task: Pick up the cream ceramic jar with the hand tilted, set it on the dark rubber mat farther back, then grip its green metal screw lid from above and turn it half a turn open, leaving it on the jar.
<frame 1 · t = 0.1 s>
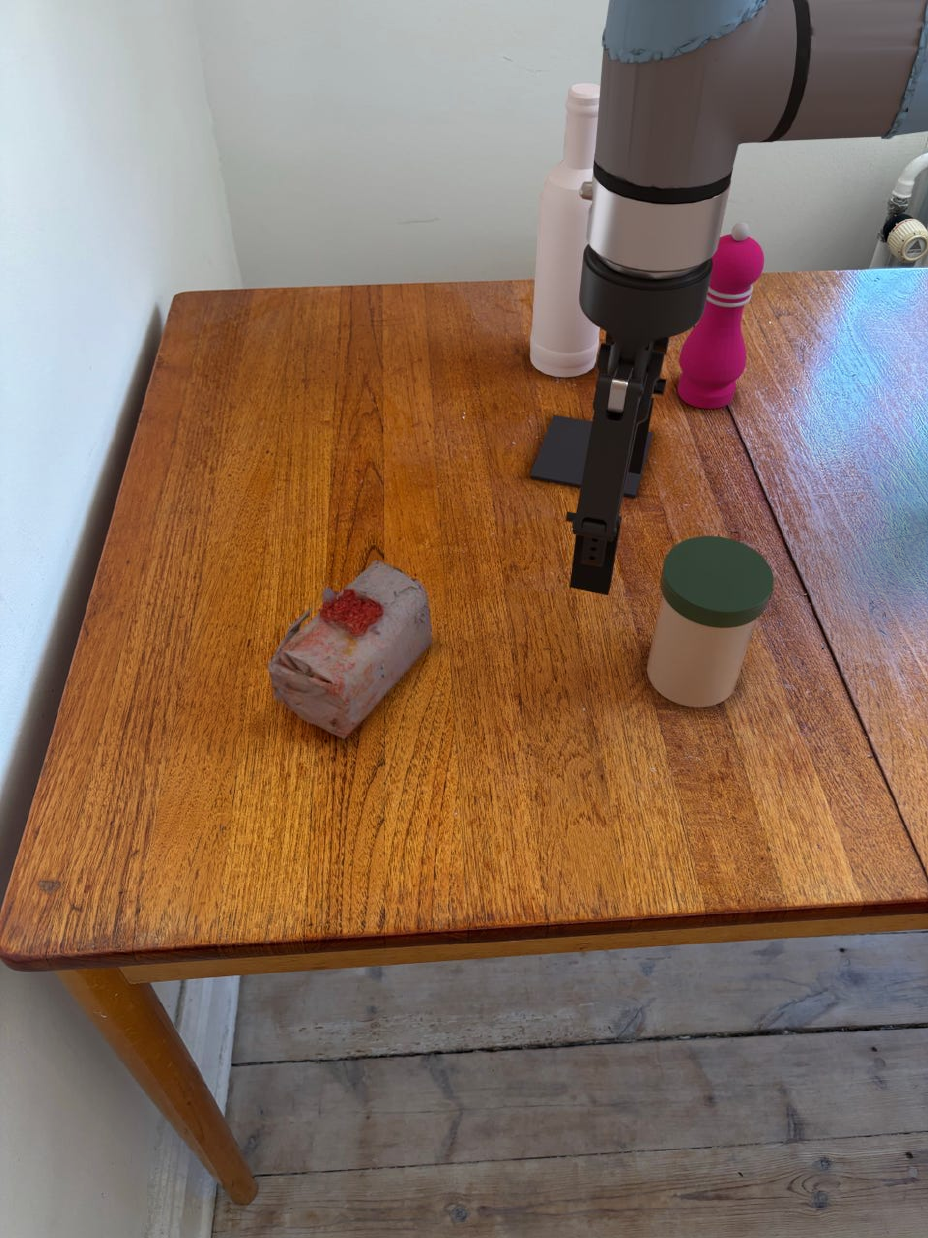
hand: (607, 524, 74), 17 cm above the table, tool pointing down, fingers open, 13 cm apart
mat: (592, 456, 107), on the table
bottle: (562, 361, 119), on the table
jar lid: (717, 576, 78), point 12 cm above the table, screwed on, not yet turned
pepper mill: (704, 395, 115), on the table
food item: (358, 682, 86), on the table
jar: (691, 672, 86), on the table
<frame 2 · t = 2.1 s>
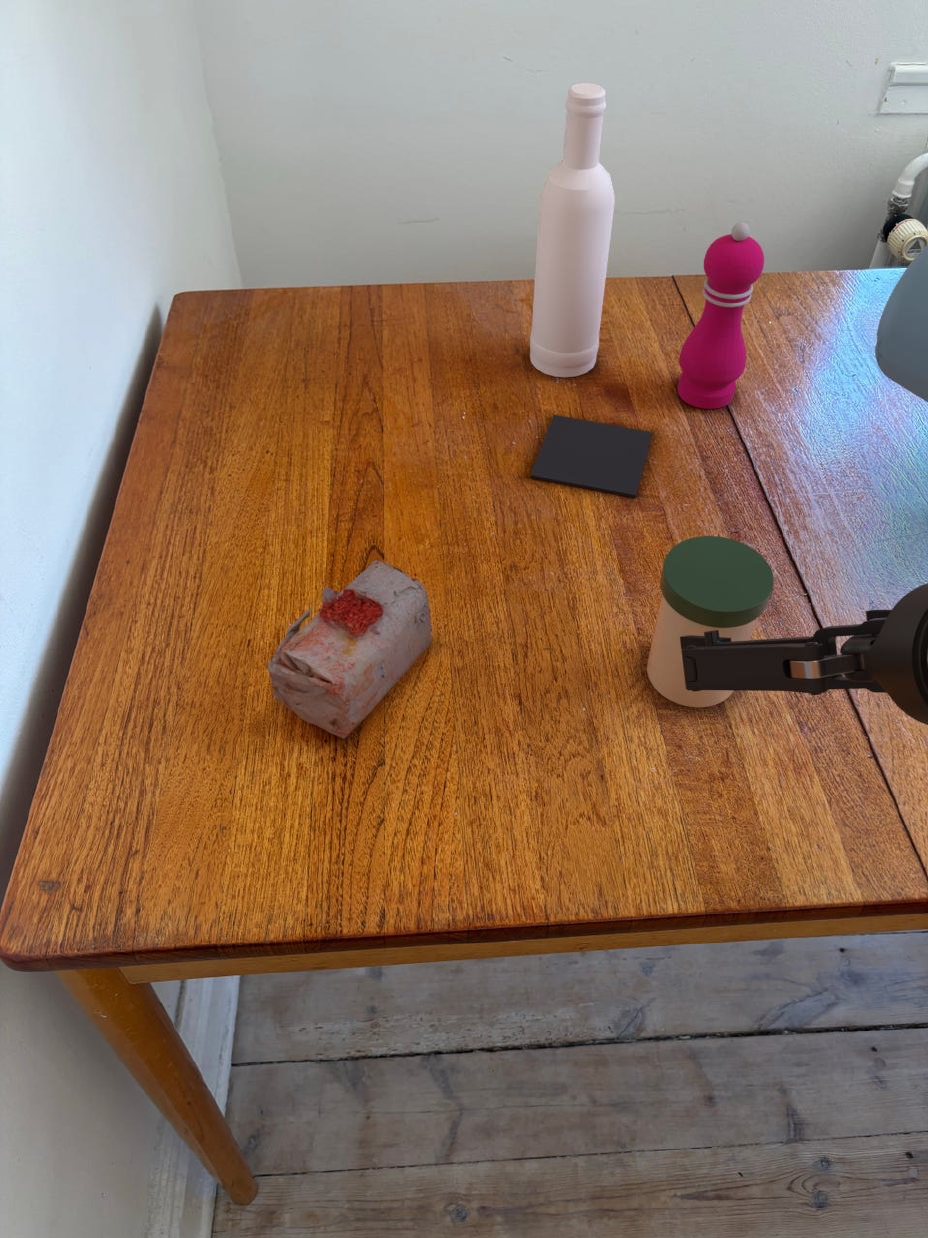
hand: (781, 642, 69), 15 cm above the table, tool tilted 45°, fingers open, 13 cm apart
nothing on the table moved.
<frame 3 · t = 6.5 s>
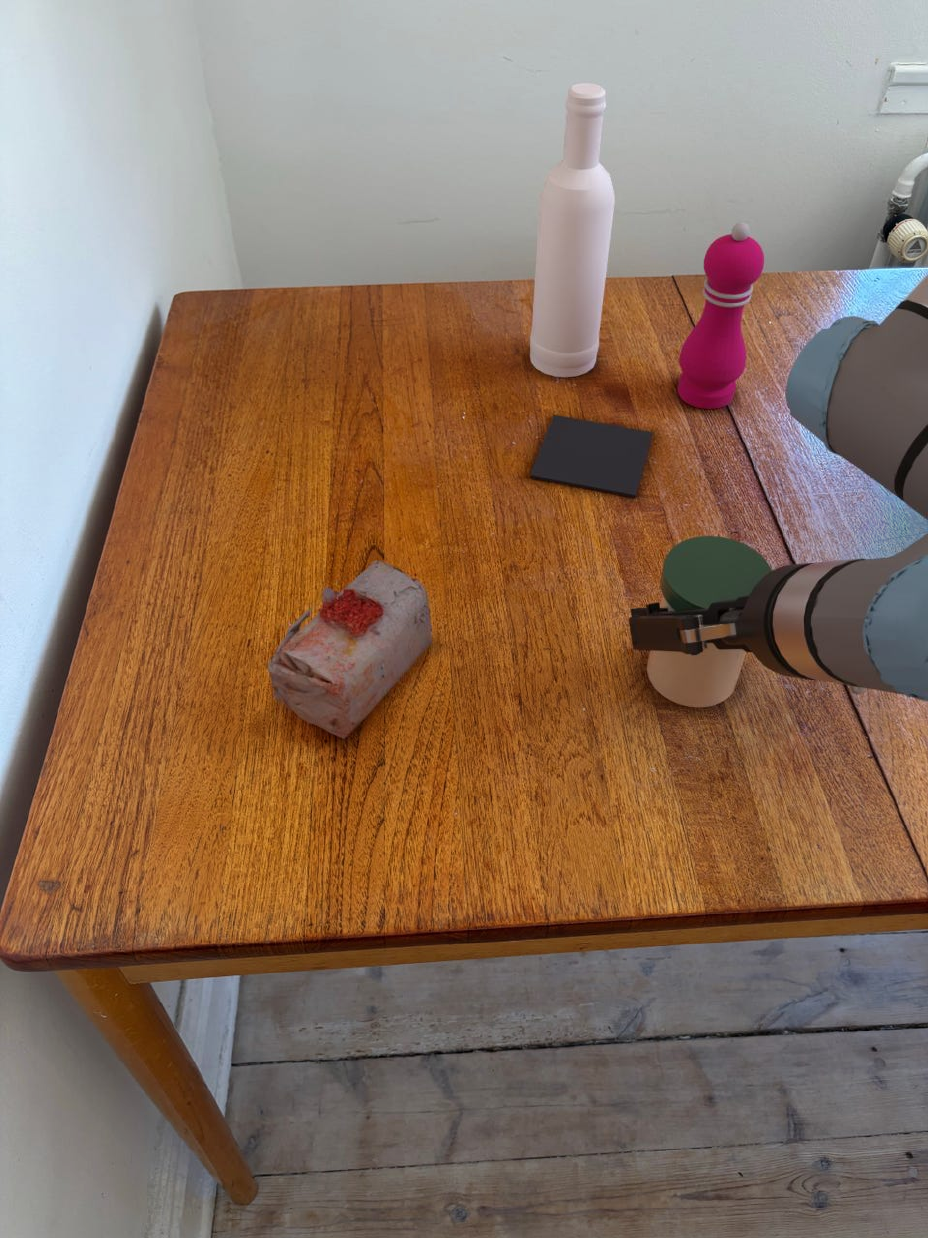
hand: (683, 615, 86), 4 cm above the table, tool tilted 45°, fingers closed on jar, 8 cm apart
jar: (691, 672, 86), on the table, touching gripper
everything else where it was.
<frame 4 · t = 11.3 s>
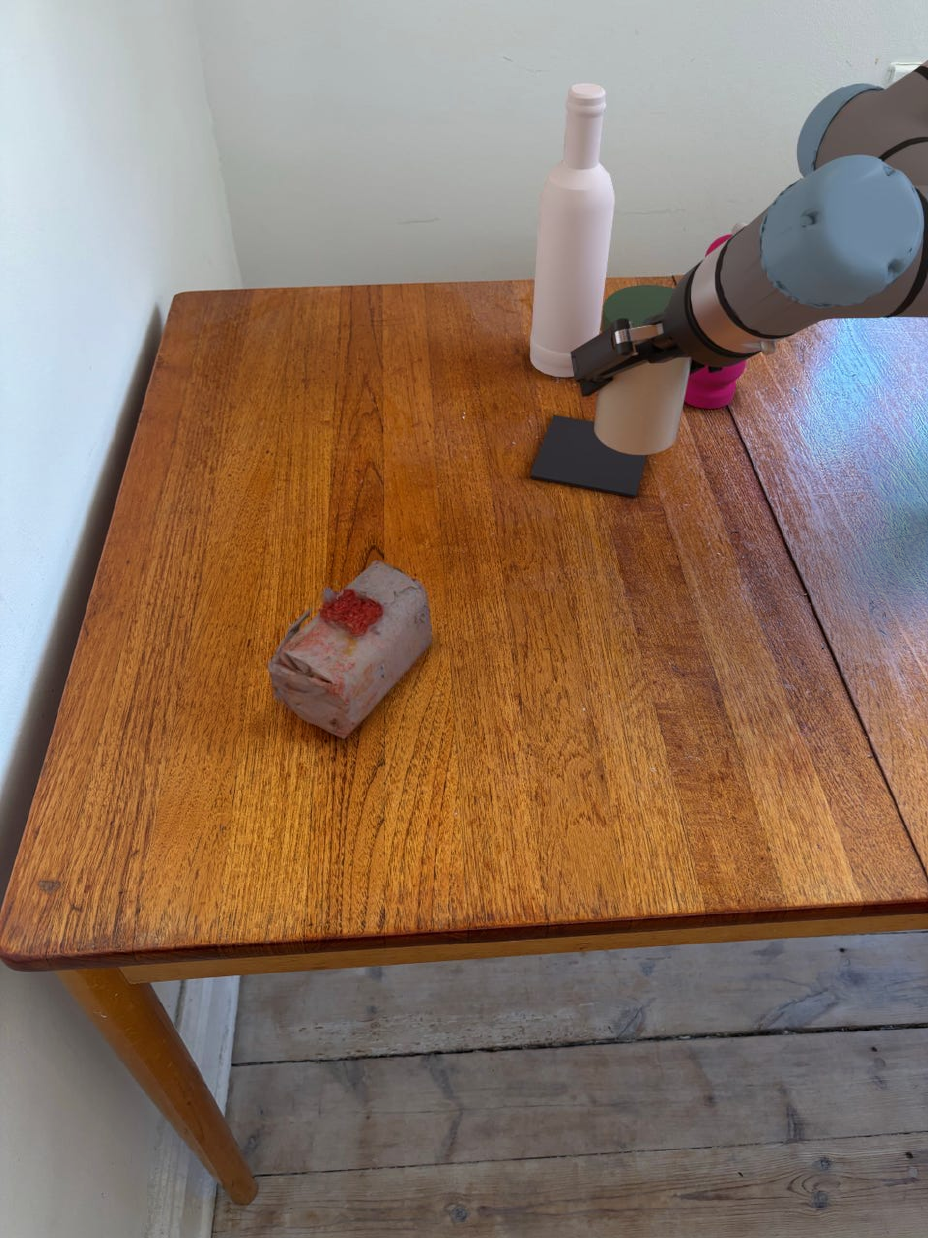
hand: (627, 375, 91), 14 cm above the table, tool tilted 45°, fingers closed on jar, 8 cm apart
jar lid: (653, 314, 83), point 22 cm above the table, screwed on, not yet turned
jar: (635, 429, 92), point 11 cm above the table, touching gripper
everything else where it was.
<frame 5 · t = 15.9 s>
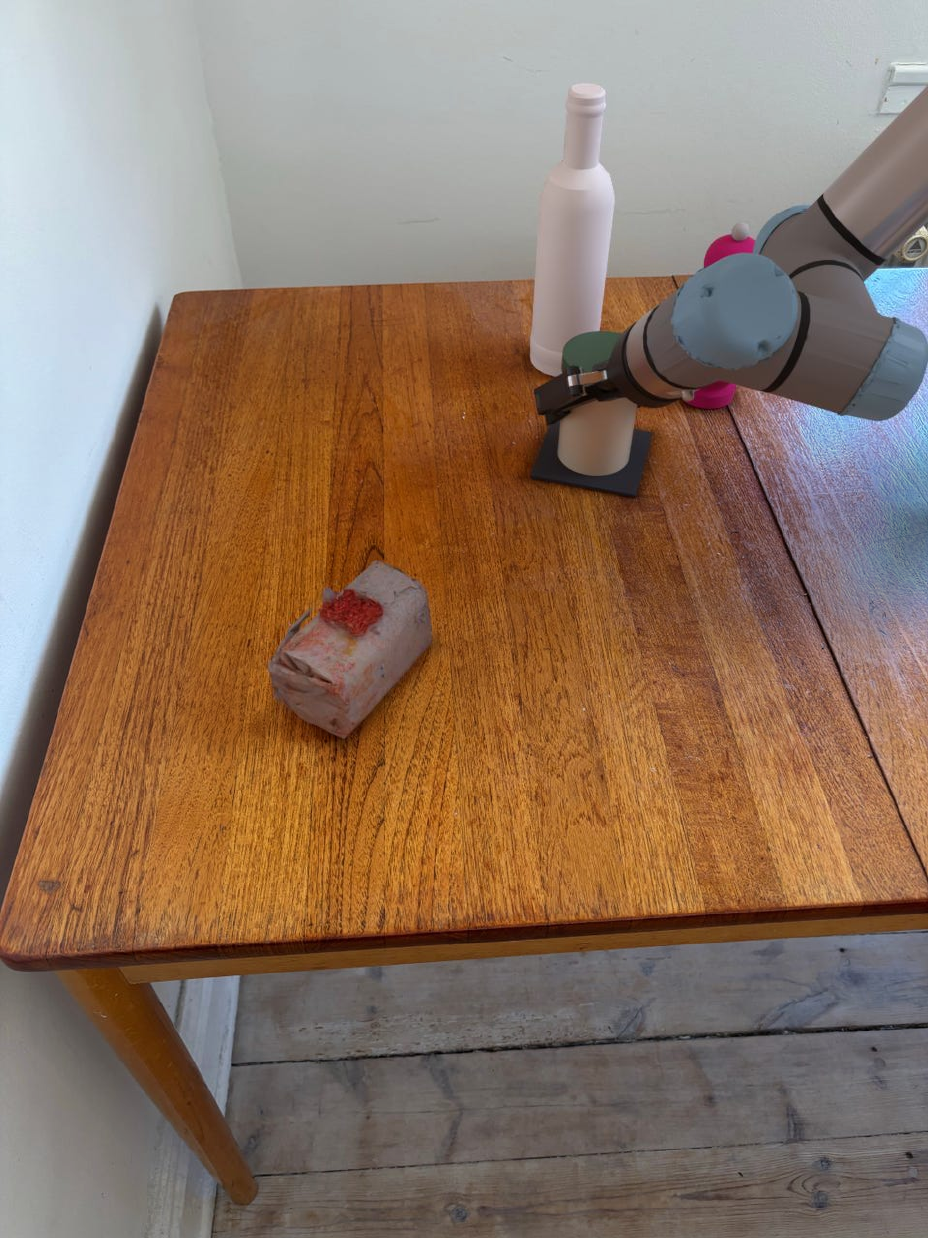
hand: (586, 406, 106), 4 cm above the table, tool tilted 45°, fingers closed on jar, 8 cm apart
jar lid: (605, 357, 98), point 12 cm above the table, screwed on, not yet turned
jar: (593, 453, 106), resting on mat, touching gripper
everything else where it was.
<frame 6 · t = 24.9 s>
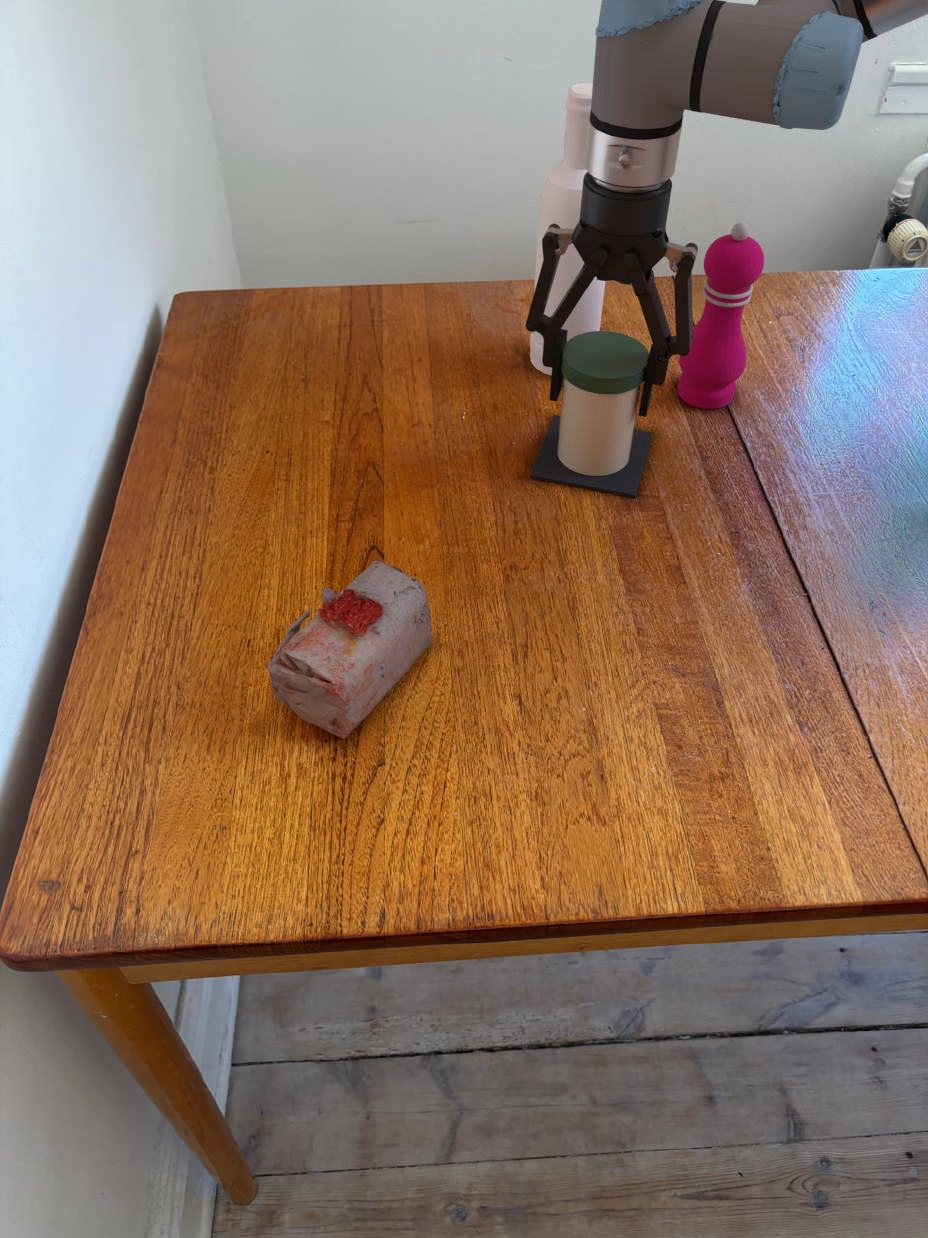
hand: (599, 400, 102), 7 cm above the table, tool pointing down, fingers closed on jar lid, 8 cm apart
jar lid: (605, 357, 98), point 12 cm above the table, screwed on, not yet turned, touching gripper
jar: (593, 453, 106), resting on mat
everything else where it was.
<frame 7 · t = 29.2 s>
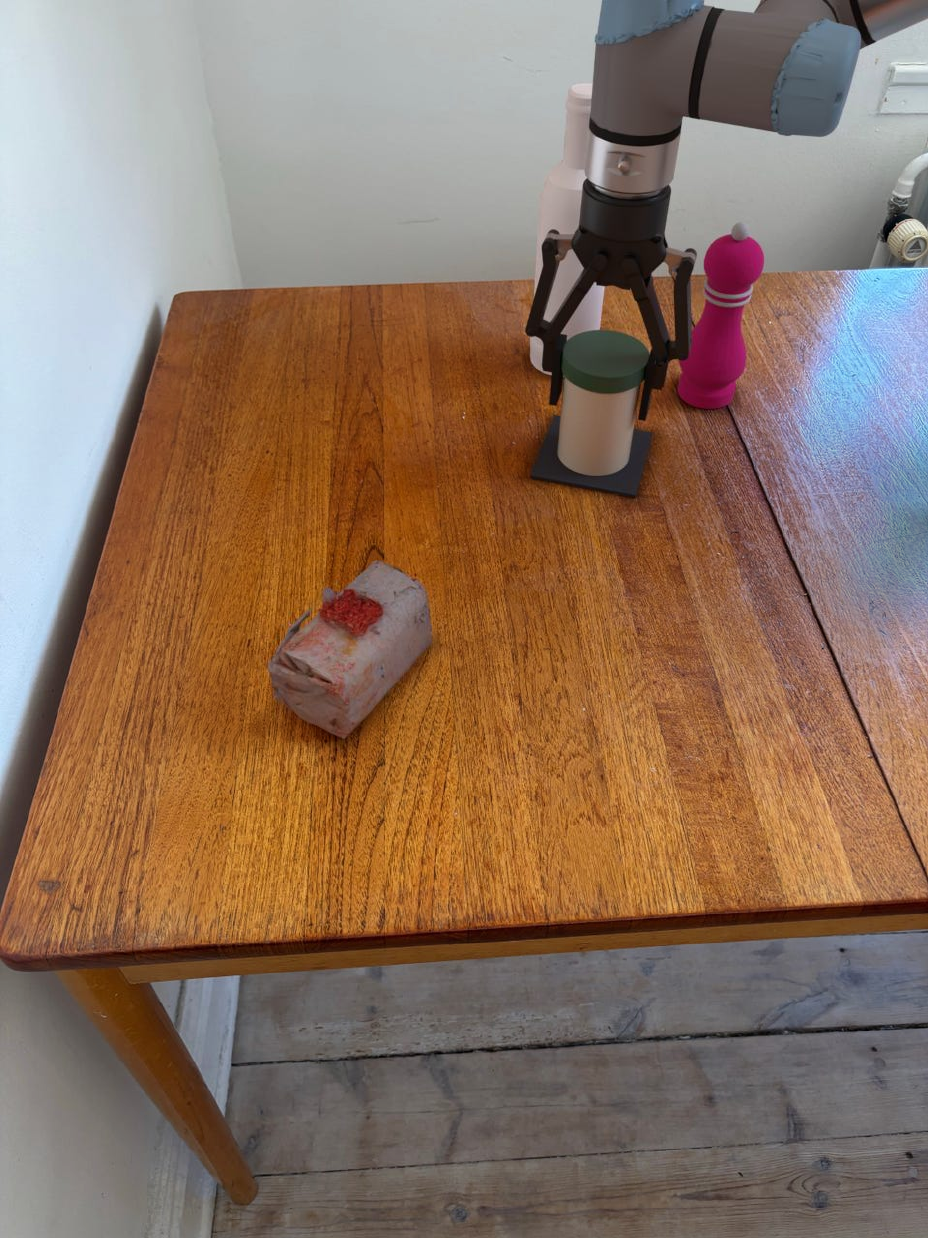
hand: (599, 405, 102), 6 cm above the table, tool pointing down, fingers closed on jar lid, 8 cm apart
jar lid: (605, 356, 98), point 12 cm above the table, turned 89° so far, risen 0.1 cm, still on its thread, touching gripper
everything else where it was.
when the fingers open (7 cm above the table, at t = 31.4 s): jar lid stays where it is, point 12 cm above the table.
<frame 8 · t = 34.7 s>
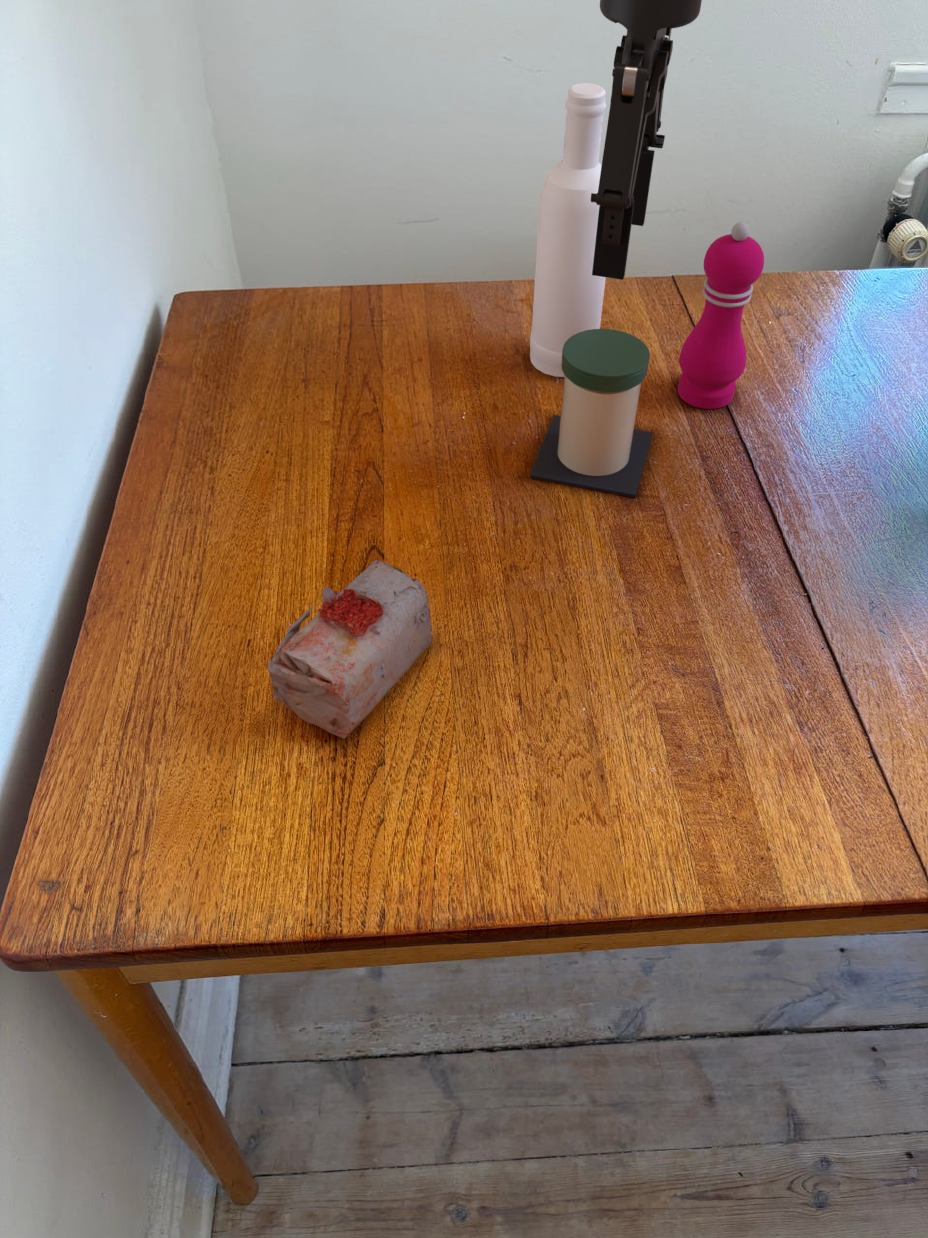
hand: (619, 247, 90), 23 cm above the table, tool pointing down, fingers open, 10 cm apart
jar lid: (605, 355, 98), point 12 cm above the table, turned 179° so far, risen 0.2 cm, still on its thread
everything else where it was.
at the end: jar inside the target area on the mat (0.1 cm from its centre), point 0.4 cm above the mat's base; jar lid turned 0.50 turns (still on its thread); jar lid is still on its thread (0.50 turns) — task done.
